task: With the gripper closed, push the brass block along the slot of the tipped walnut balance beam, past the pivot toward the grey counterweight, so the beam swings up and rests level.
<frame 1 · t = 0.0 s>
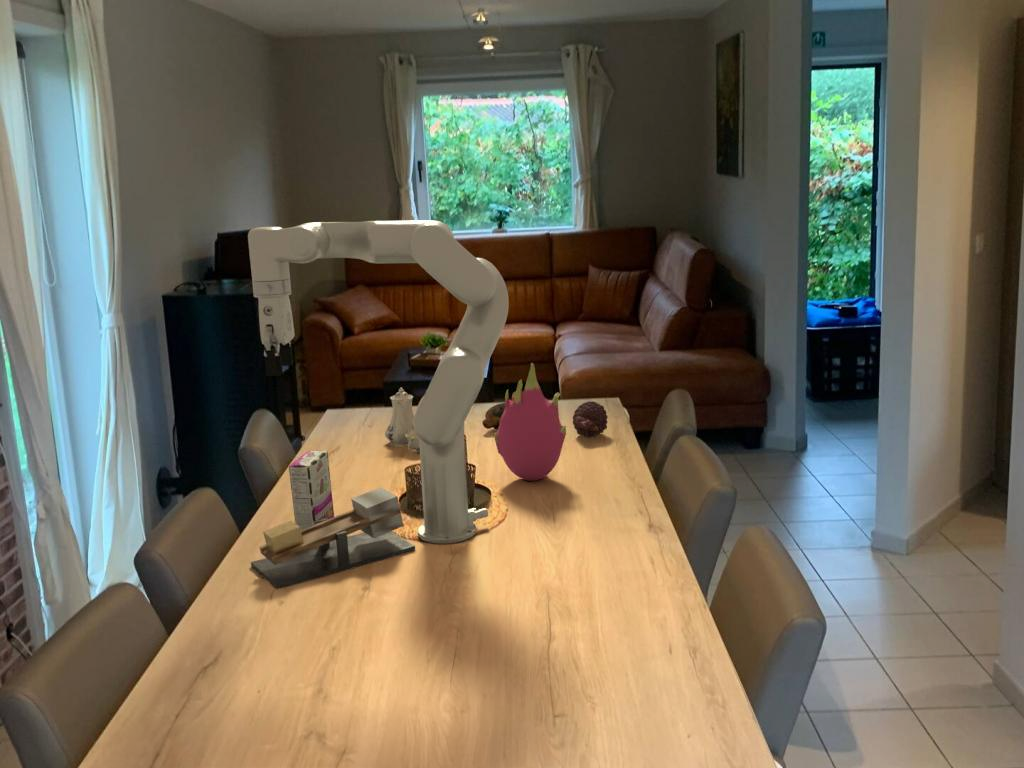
hand: (279, 370, 210), 37 cm above the table, tool pointing down, fingers open, 9 cm apart
stand: (334, 558, 207), on the table
beam: (331, 530, 205), point 6 cm above the table, hinge at 8.1°, touching brass block
candy bar box: (315, 529, 224), on the table
chinaware: (415, 443, 288), on the table
pink dragon fruit: (532, 480, 251), on the table
brass block: (285, 547, 200), point 5 cm above the table, tilted 8°, touching beam
pine cone: (590, 436, 287), on the table
decorative turtle: (504, 429, 298), on the table
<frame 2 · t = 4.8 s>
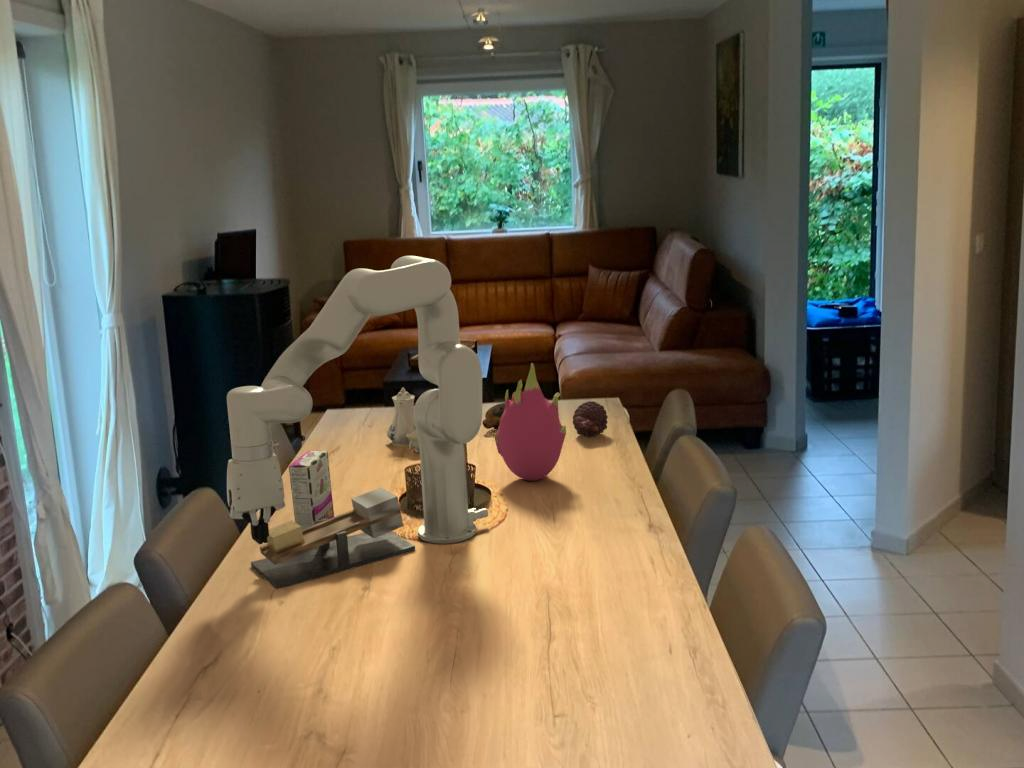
hand: (260, 541, 197), 8 cm above the table, tool pointing down, fingers closed
beam: (331, 530, 205), point 6 cm above the table, hinge at 8.0°
brass block: (287, 547, 200), point 5 cm above the table, tilted 8°, touching gripper
everything else where it was.
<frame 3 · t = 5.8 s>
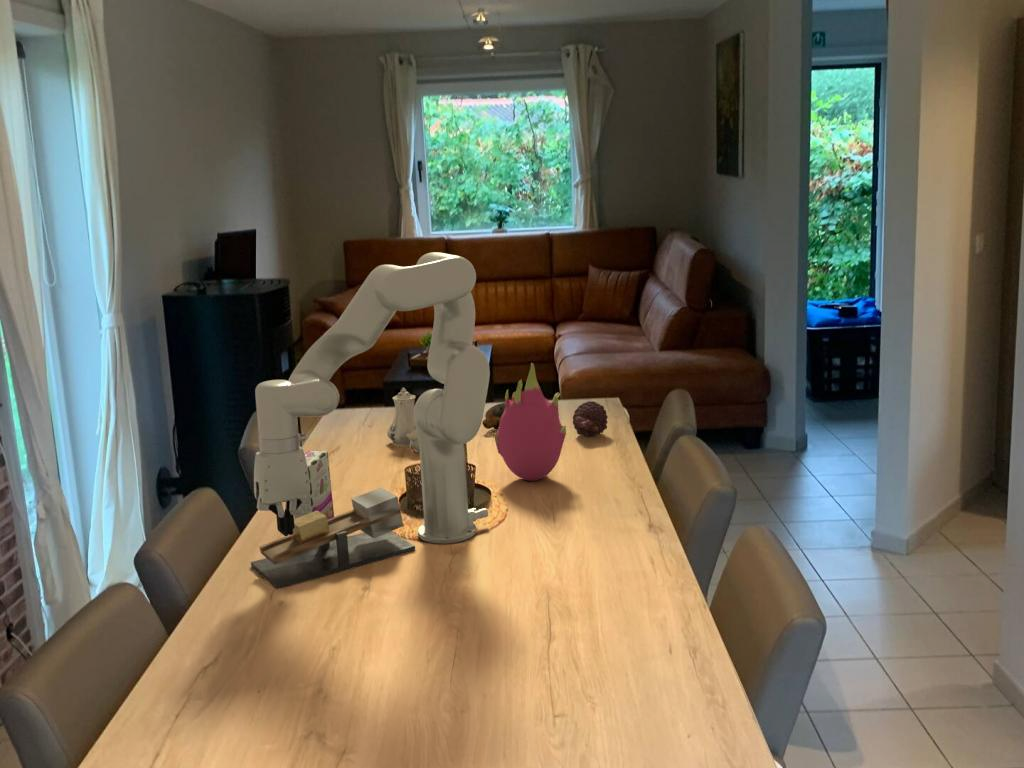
hand: (286, 533, 200), 8 cm above the table, tool pointing down, fingers closed
brass block: (312, 536, 203), point 6 cm above the table, tilted 8°, touching gripper
everything else where it was.
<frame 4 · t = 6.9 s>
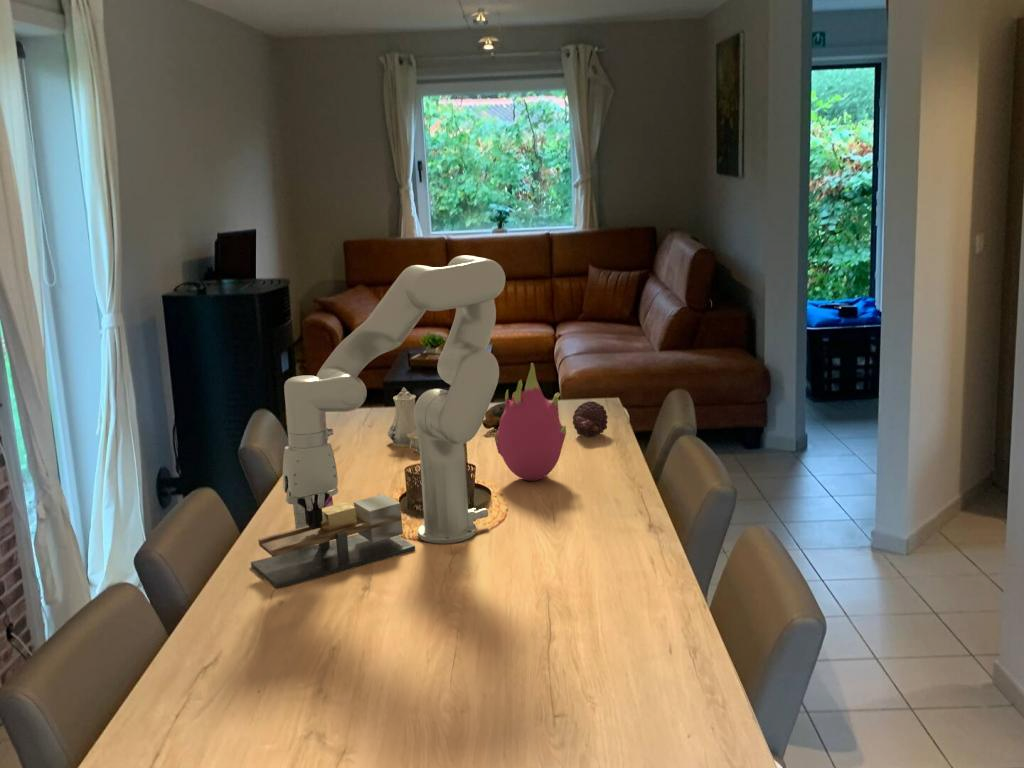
hand: (314, 526, 203), 8 cm above the table, tool pointing down, fingers closed
beam: (331, 530, 205), point 6 cm above the table, hinge at 1.3°, touching brass block
brass block: (339, 526, 206), point 6 cm above the table, touching beam, gripper
everything else where it was.
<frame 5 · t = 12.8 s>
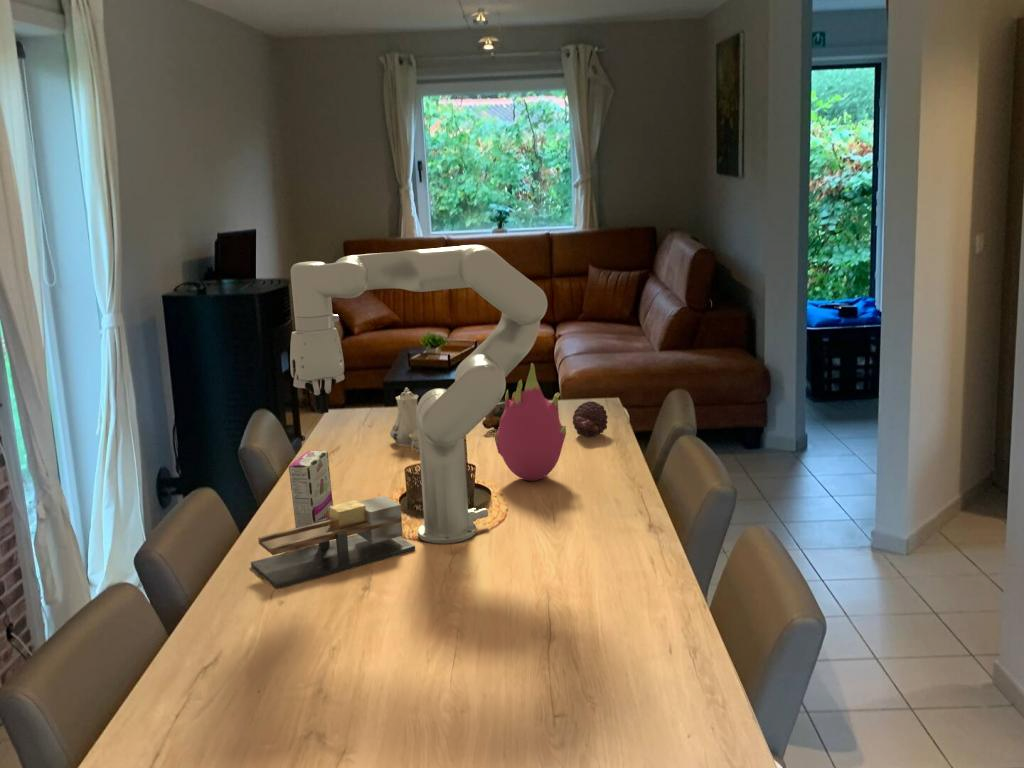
hand: (321, 411, 207), 29 cm above the table, tool pointing down, fingers closed
beam: (331, 530, 205), point 6 cm above the table, hinge at -0.2°, touching brass block
brass block: (348, 524, 207), point 6 cm above the table, touching beam
at the end: beam at +0° (first picture: +8°); brass block 1.1 cm from the target spot on the beam, point 0.4 cm above the beam's base; brass block tilted 0° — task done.
